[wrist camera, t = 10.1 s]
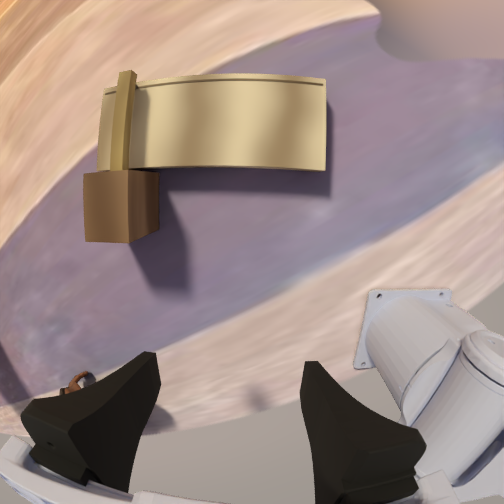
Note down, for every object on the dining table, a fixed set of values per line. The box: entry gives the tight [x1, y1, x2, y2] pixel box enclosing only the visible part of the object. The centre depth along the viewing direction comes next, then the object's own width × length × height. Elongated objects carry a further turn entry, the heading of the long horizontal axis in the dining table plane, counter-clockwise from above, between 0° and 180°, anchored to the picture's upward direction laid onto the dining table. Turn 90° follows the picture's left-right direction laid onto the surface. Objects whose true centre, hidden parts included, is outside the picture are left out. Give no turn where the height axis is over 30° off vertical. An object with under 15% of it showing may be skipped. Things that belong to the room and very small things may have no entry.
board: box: [97, 74, 326, 172], centre depth 18 cm, size 17×7×2 cm, turn 88°
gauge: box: [83, 70, 159, 243], centre depth 17 cm, size 4×12×6 cm, turn 178°
